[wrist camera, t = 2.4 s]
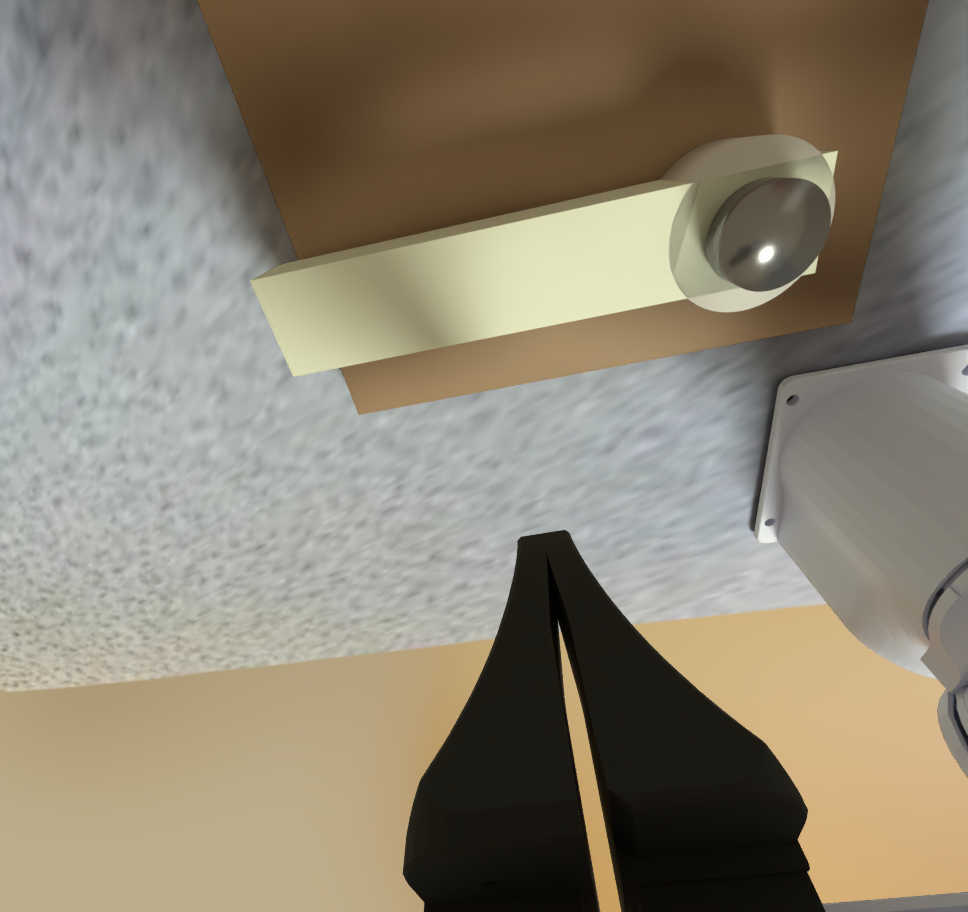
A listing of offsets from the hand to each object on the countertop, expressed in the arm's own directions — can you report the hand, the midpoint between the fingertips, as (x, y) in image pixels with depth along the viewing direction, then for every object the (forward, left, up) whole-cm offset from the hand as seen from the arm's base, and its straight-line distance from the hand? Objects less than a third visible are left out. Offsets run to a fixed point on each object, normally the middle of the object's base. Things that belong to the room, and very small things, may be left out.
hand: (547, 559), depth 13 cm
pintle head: (+6, -7, -4) cm, 11 cm away
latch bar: (+7, -1, -7) cm, 10 cm away
